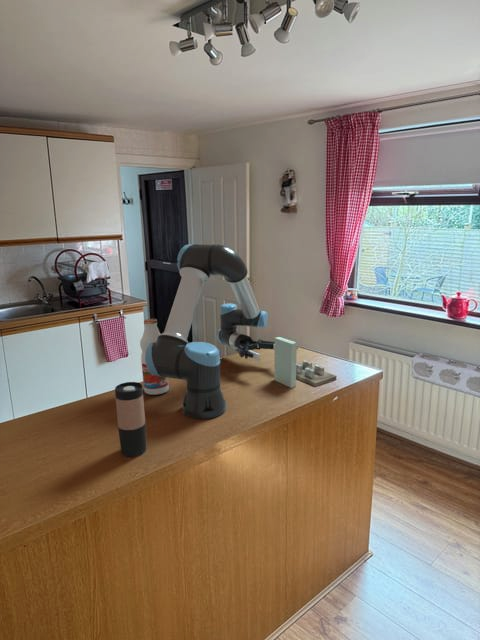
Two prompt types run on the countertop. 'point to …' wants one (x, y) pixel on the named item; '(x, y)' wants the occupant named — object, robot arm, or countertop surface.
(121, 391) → the travel mug
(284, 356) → the door
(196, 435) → the countertop surface
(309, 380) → the hinge base
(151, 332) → the fruit juice
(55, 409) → the countertop surface
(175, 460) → the countertop surface
